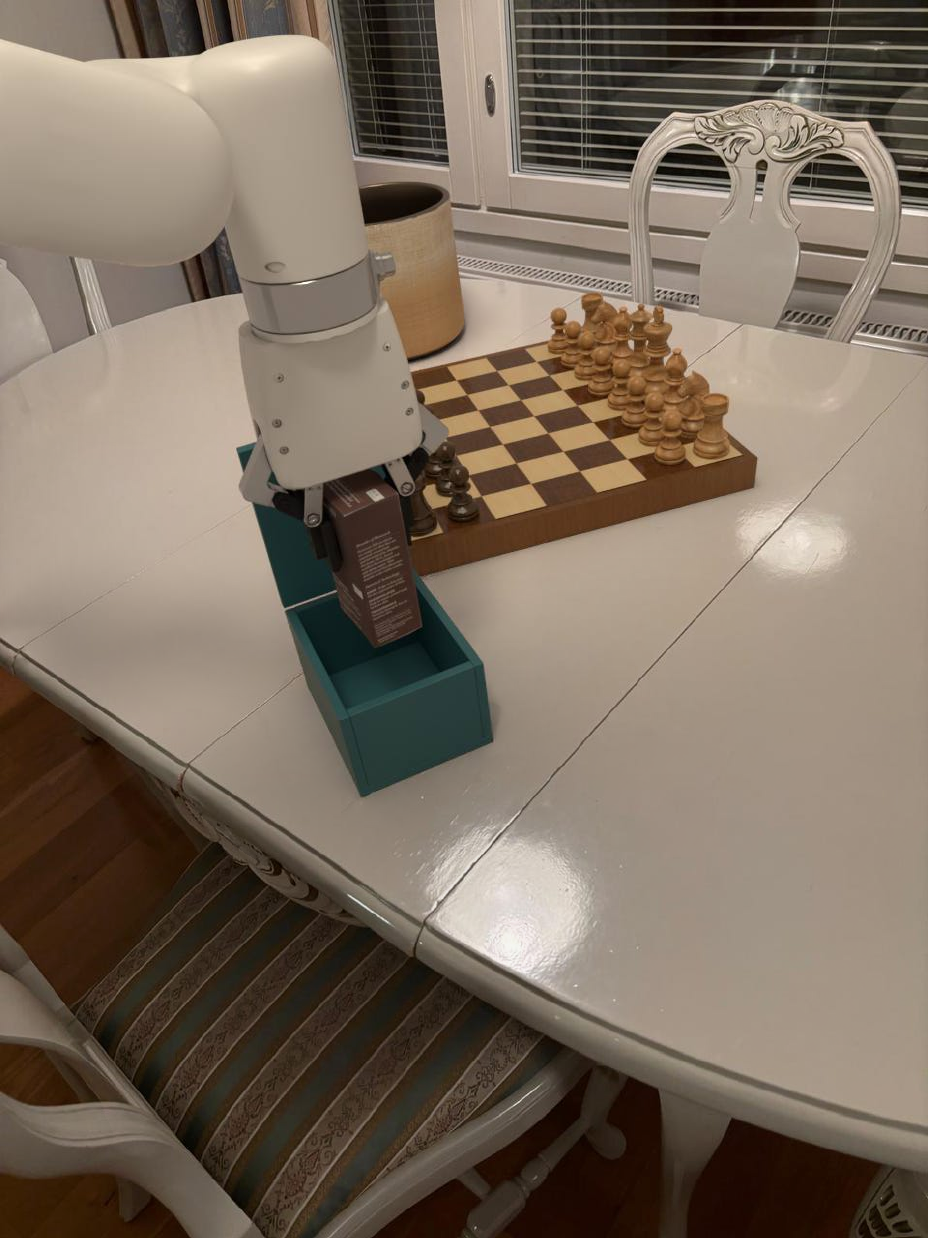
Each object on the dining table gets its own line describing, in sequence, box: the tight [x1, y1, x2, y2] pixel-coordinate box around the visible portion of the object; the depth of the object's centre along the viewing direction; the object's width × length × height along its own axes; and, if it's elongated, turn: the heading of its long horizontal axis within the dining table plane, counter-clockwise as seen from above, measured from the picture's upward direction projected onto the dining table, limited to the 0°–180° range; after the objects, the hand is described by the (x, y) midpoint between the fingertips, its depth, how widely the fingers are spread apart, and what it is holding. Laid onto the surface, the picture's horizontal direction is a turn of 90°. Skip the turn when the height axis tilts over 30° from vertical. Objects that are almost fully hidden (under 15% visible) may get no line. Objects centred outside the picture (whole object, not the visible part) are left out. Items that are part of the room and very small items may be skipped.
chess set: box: [409, 292, 759, 577], centre depth 103 cm, size 40×40×15 cm
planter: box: [358, 181, 465, 362], centre depth 132 cm, size 22×22×20 cm
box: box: [323, 468, 422, 648], centre depth 63 cm, size 6×4×12 cm
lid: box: [235, 441, 412, 609], centre depth 71 cm, size 15×12×5 cm
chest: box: [284, 567, 494, 798], centre depth 73 cm, size 15×12×9 cm
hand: (365, 547), depth 63 cm, fingers closed on box, 4 cm apart
